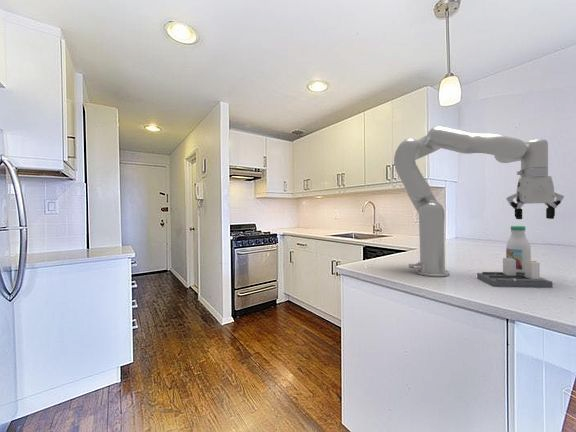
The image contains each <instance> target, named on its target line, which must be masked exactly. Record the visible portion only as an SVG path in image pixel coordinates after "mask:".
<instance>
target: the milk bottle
mask: <svg viewBox="0 0 576 432" xmlns="http://www.w3.org/2000/svg"><path fill="white" fill-rule="evenodd" d="M510 232H511V234H510V237H509V238H508V240H507V243H506V247H505V248H506V249H505V253H506V254H505V255H506V256H505V258H513V259H514V260H516V272H525V261H532V250H531V244H530V242H529V240H528V239H527V237H526V234H525V233H526V226H525V225H511V226H510Z"/></svg>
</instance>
